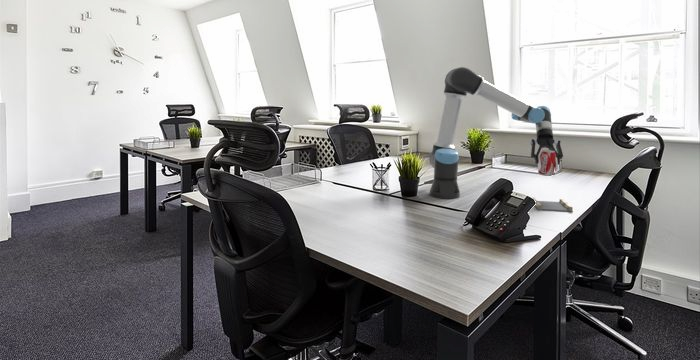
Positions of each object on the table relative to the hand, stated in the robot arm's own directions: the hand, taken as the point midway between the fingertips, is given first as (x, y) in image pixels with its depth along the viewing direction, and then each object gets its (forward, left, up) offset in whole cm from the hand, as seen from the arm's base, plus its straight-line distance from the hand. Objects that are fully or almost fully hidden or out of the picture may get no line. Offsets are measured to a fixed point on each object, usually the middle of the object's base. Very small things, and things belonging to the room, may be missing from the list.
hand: (548, 169), depth 202 cm
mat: (+10, -2, -16) cm, 19 cm away
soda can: (-4, +1, -4) cm, 5 cm away
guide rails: (+10, -2, -16) cm, 19 cm away
